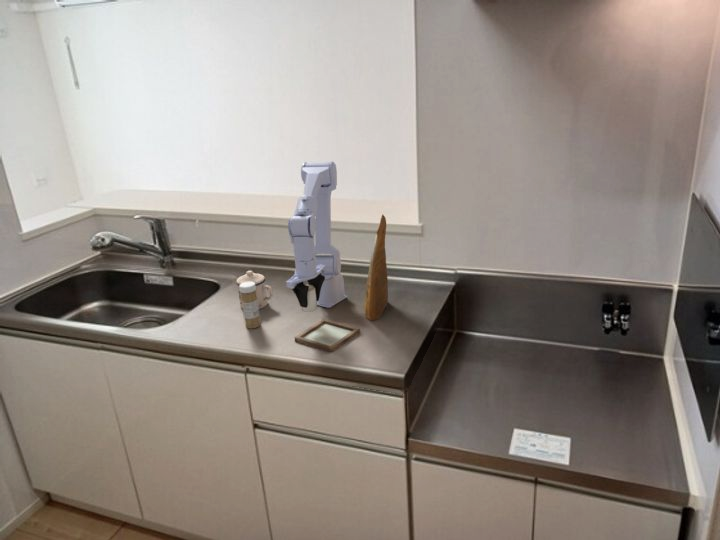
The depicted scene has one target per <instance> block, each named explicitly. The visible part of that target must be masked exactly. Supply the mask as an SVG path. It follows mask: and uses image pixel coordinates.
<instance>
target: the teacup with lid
mask: <svg viewBox="0 0 720 540" xmlns="http://www.w3.org/2000/svg"><path fill="white" fill-rule="evenodd" d="M244 282H254V283H255V286H256V297H257V302H258V309H259V310H260V309H263V308H265V307H266V306H267V305H268V303H269V302H268V301H269V300H271V299H272V298H273V295H274V289H273V288H272V287H271V286H270V285H267V284H266V278H265V276H264V275H263V274H260V273H255V272H254V271H253V270H247V271H246V273H245V274H244V275H241V276H239V277H238V278H237V279H236V285H237V291H238V298H239V305H240V309H242V310H243V305H242V296H241V292H240V287H239V286H240V284H241V283H244ZM267 290H268V291H269V297H268V296H267Z"/></svg>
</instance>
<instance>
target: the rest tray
mask: <svg viewBox="0 0 720 540" xmlns="http://www.w3.org/2000/svg"><path fill="white" fill-rule="evenodd" d="M360 333H361V330H360V328H358V327H354V326H351V325H347V324H344V323H340V322H338V321H337V322H336V321H334V320H330V319H326V318H323V319H321V320H320V321H318V322H316V323H315V324H313V325H312V326H310V327H309V328H307V329H305V330H304V331H302V332H301V333H299V334H298V335H296V336H294V341H295V342H297V343H301V344H303V345H306V346H309V347H312V348H316V349H318V350H321V351H325V352H329V353H333V352H334V351H336V350H338V349H339V348H340V347H342V346H343V345H344V344H346V343H347V342H349V341H350V340H352V339H353V338H355V337H356V336H357V335H359V334H360Z"/></svg>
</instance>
